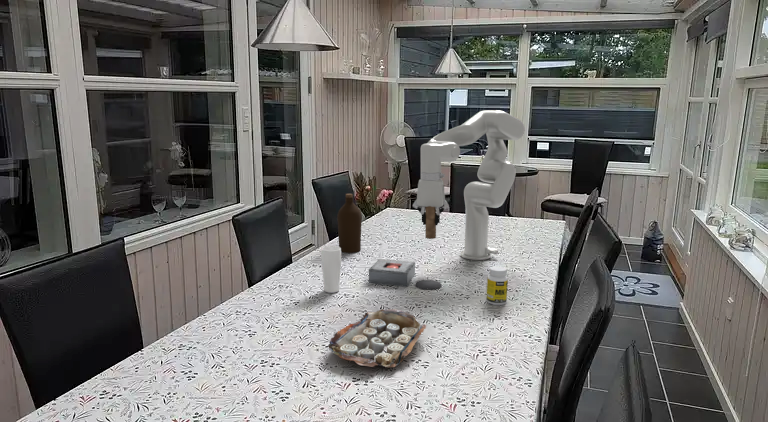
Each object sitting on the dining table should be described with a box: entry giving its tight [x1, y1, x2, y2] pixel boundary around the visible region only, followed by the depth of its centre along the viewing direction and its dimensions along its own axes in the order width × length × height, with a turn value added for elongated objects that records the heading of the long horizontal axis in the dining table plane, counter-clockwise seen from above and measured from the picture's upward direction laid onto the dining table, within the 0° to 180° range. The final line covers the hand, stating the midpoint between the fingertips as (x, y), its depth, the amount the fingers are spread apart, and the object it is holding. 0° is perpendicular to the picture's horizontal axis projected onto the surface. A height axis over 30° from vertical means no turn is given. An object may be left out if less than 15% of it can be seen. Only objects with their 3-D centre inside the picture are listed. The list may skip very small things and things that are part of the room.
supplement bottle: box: [485, 265, 509, 306], centre depth 170 cm, size 6×6×11 cm
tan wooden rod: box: [424, 206, 437, 240], centre depth 200 cm, size 4×4×16 cm
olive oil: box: [336, 193, 363, 254], centre depth 229 cm, size 11×11×25 cm
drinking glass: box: [320, 245, 342, 294], centre depth 179 cm, size 7×7×15 cm
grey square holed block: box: [368, 258, 416, 287], centre depth 193 cm, size 14×14×5 cm
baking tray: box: [328, 308, 427, 369], centre depth 138 cm, size 30×22×5 cm
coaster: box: [415, 279, 442, 291], centre depth 186 cm, size 9×9×1 cm
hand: (430, 223), depth 201 cm, fingers closed on tan wooden rod, 4 cm apart
